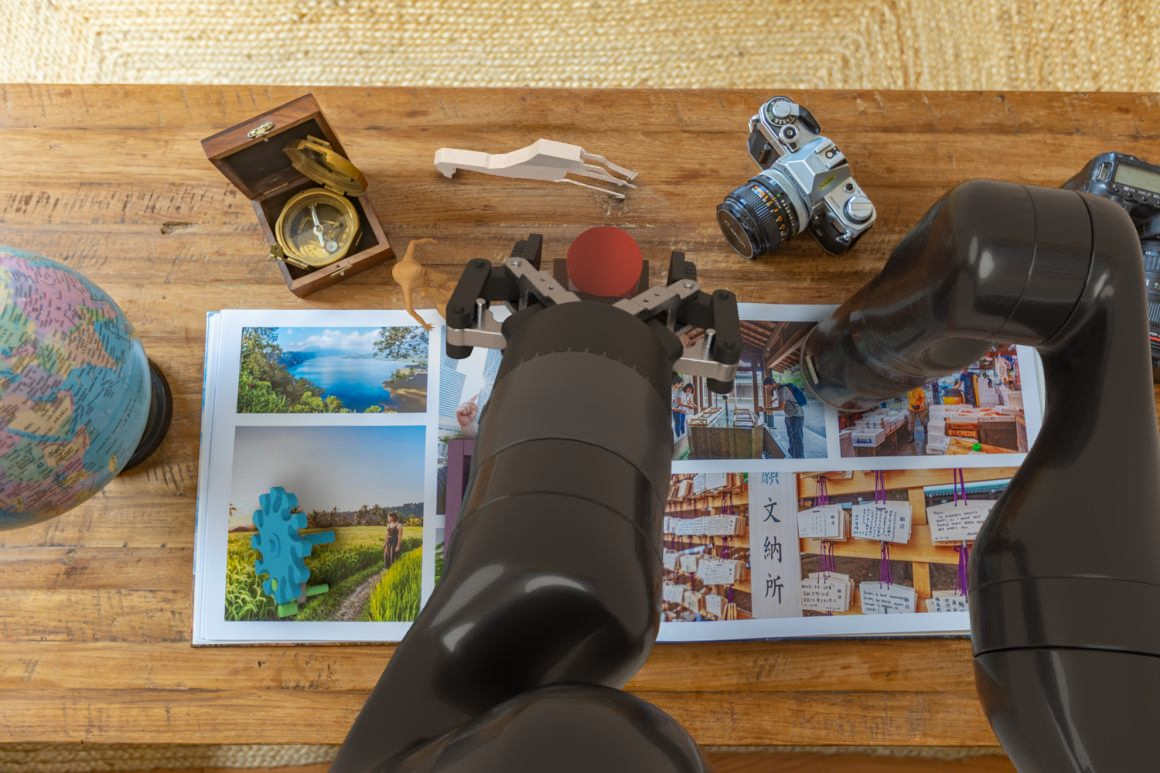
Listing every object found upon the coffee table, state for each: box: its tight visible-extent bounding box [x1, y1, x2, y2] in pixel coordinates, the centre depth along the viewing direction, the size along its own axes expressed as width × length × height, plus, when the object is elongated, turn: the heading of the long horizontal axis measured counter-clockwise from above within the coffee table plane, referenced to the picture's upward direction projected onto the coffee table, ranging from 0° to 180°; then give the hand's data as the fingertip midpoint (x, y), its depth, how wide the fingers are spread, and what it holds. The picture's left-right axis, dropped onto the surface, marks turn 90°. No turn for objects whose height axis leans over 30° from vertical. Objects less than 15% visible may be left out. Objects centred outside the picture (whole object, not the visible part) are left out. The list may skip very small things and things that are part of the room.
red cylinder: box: [565, 225, 644, 299], centre depth 45 cm, size 4×4×8 cm
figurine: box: [391, 237, 459, 332], centre depth 70 cm, size 8×6×12 cm
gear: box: [250, 485, 336, 618], centre depth 69 cm, size 11×6×10 cm
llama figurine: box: [433, 138, 639, 199], centre depth 75 cm, size 2×11×18 cm
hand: (605, 257), depth 45 cm, fingers open, 7 cm apart
